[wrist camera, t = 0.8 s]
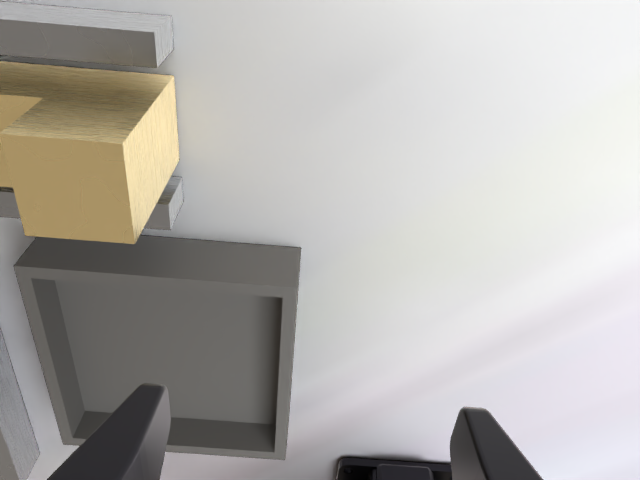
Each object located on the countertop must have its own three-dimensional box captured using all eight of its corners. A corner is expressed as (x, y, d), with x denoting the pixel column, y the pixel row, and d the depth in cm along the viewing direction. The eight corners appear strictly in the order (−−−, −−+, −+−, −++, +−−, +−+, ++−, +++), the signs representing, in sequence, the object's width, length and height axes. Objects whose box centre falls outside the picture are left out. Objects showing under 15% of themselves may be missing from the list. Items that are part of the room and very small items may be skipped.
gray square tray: (289, 415, 28) (285, 460, 26) (83, 400, 28) (63, 444, 25) (301, 247, 22) (297, 287, 20) (43, 227, 22) (13, 265, 20)
